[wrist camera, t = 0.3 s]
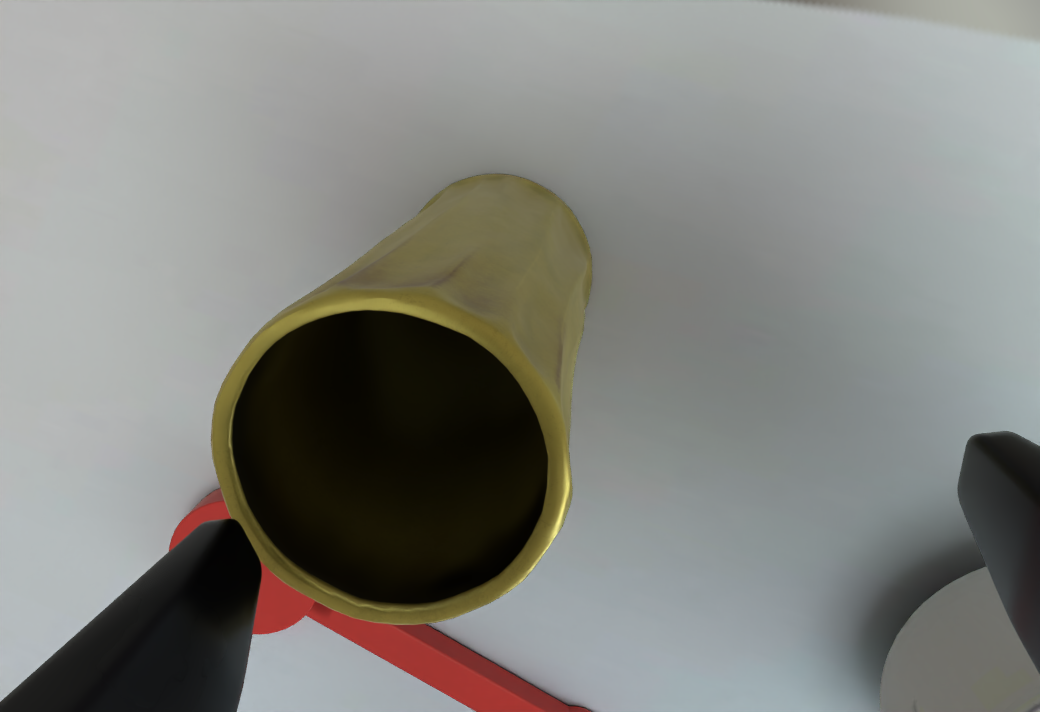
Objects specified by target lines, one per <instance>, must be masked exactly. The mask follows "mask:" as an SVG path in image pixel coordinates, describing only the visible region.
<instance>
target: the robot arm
mask: <svg viewBox="0 0 1040 712" xmlns="http://www.w3.org/2000/svg"><path fill="white" fill-rule="evenodd" d="M958 498H959V502H960V505H961V508H962V510H963V512H964V515H965V517H966V519H967V522H968V524H969V526H970V529H971V531H972V533H973V536H974V538H975V541H976V543H977V545H978V548H979V550H980V552H981V555H982V557H983V559H984V562H985V564H986V566H987V569H988V571H989V573H990V576H991V578H992V580H993V583H994V585H995V587H996V590H997V592H998V595H999V597H1000V599H1001V602H1002V604H1003V606H1004V608H1005V610H1006V613H1007V615H1008V617H1009V619H1010V621H1011V624H1012V625H1013V627H1014V629H1015V631H1016V633H1017V635H1018V637H1019V639H1020V640H1021V642H1022V644H1023V646H1024V648H1025V650H1026V651H1027V653H1028V655H1029V657H1030V658H1031V660H1032V662H1033V664H1034V665H1035V667H1036V669H1037V671H1038V673H1039V674H1040V446H1038V445H1037V444H1035V443H1033V442H1031V441H1029V440H1027V439H1025V438H1023V437H1021V436H1020V435H1018V434H1015V433H1013V432H1009V431H1000V432H991V433H982V434H976V435H973V436H972V437H970V439H969V440H968V442H967V445H966V449H965V453H964V458H963V463H962V467H961V472H960V477H959V481H958ZM261 579H262V567H261V562H260V559H259V557H258V555H257V553H256V551H255V550H254V548H253V546H252V544H251V542H250V540H249V539H248V537H247V535H246V533H245V531H244V529H243V527H242V526H241V524H240V523H239V522H238V521H237V520H235V519H231V518H229V519H220V520H211V521H206V522H203V523H201V524H200V525H199V526H198V527H196V528H195V529H194V530H193V531H192V532H191V533H190V534H189V535H187V536H186V537H185V538H184V539H183V540H182V541H181V542H180V543H178V544H177V545H176V546H175V547H174V548H173V549H172V550H171V551H169V552H168V553H167V554H166V555H165V556H164V557H163V558H162V559H160V560H159V561H158V562H157V563H156V564H155V565H154V566H153V567H151V568H150V569H149V570H148V571H147V572H146V573H145V574H144V575H142V576H141V577H140V578H139V579H138V580H137V581H136V582H135V583H133V584H132V585H131V586H130V587H129V588H128V589H127V590H126V591H124V592H123V593H122V594H121V595H120V596H119V597H118V598H117V599H115V600H114V601H113V602H112V603H111V604H110V605H109V606H108V607H106V608H105V609H104V610H103V611H102V612H101V613H100V614H99V615H98V616H96V617H95V618H94V619H93V620H92V621H91V622H90V623H89V624H87V625H86V626H85V627H84V628H83V629H82V630H81V631H80V632H78V633H77V634H76V635H75V636H74V637H73V638H72V639H71V640H69V641H68V642H67V643H66V644H65V645H64V646H63V647H62V648H60V649H59V650H58V651H57V652H56V653H55V654H54V655H53V656H51V657H50V658H49V659H48V660H47V661H46V662H45V663H44V664H42V665H41V666H40V667H39V668H38V669H37V670H36V671H35V672H33V673H32V674H31V675H30V676H29V677H28V678H27V679H26V680H24V681H23V682H22V683H21V684H20V685H19V686H18V687H17V688H15V689H14V690H13V691H12V692H11V693H10V694H9V695H8V696H6V697H5V698H4V699H3V700H2V701H1V702H0V712H237V708H238V704H239V700H240V696H241V693H242V688H243V683H244V678H245V673H246V668H247V662H248V656H249V650H250V644H251V639H252V633H253V627H254V621H255V615H256V609H257V603H258V597H259V591H260V585H261Z"/></svg>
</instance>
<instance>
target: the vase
mask: <svg viewBox="0 0 1040 712" xmlns="http://www.w3.org/2000/svg"><path fill="white" fill-rule="evenodd" d="M591 282H592V257H591V253H590V247H589V244H588V241H587V238H586V236H585V234H584V232H583V229H582V227H581V226H580V224H579V222H578V220H577V219H576V217H575V216H574V214H573V213H572V211H571V210H570V209H569V207H568V206H567V205H566V204H565V203H564V202H563V201H562V200H561V199H560V198H559V197H557V196H556V195H555V194H553V193H552V192H551V191H549V190H548V189H546V188H544V187H542V186H540V185H538V184H536V183H534V182H532V181H530V180H527V179H524V178H521V177H517V176H512V175H505V174H487V175H479V176H474V177H470V178H466V179H463V180H461V181H458V182H456V183H453V184H451V185H449V186H448V187H446V188H445V189H443V190H442V191H441V192H439V193H438V194H437V195H435V196H434V197H433V198H432V199H431V200H430V201H429V202H428V203H427V204H426V205H425V207H424V208H423V209H422V210H421V211H420V213H419V214H418V215H417V216H416V217H414V218H413V219H411V220H410V221H408V222H407V223H405V224H404V225H402V226H401V227H400V228H398V229H397V230H396V231H395V232H394V233H392V234H391V235H389V236H388V237H386V238H385V239H383V240H382V241H381V242H379V243H378V244H377V245H376V246H375V247H373V248H372V249H371V250H370V251H368V252H367V253H366V254H364V255H363V256H362V257H360V258H359V259H358V260H357V261H355V262H354V263H353V264H351V265H350V266H349V267H347V268H346V269H345V270H343V271H342V272H341V273H339V274H338V275H336V276H335V277H333V278H332V279H330V280H329V281H327V282H326V283H324V284H323V285H321V286H320V287H318V288H317V289H315V290H314V291H312V292H310V293H309V294H307V295H306V296H304V297H302V298H301V299H299V300H298V301H296V302H294V303H293V304H291V305H290V306H288V307H287V308H285V309H284V310H282V311H281V312H280V313H278V314H277V315H276V316H275V317H273V318H272V319H271V320H270V321H269V322H267V323H266V324H265V325H264V326H263V327H262V328H261V329H260V330H259V331H258V332H257V333H256V334H255V335H254V336H253V337H252V339H251V340H250V341H249V343H248V344H247V345H246V347H245V348H244V350H243V351H242V352H241V354H240V355H239V357H238V358H237V360H236V361H235V363H234V364H233V366H232V367H231V369H230V371H229V372H228V374H227V376H226V378H225V380H224V381H223V383H222V386H221V388H220V391H219V393H218V396H217V398H216V401H215V405H214V412H213V418H212V430H211V447H212V459H213V462H214V466H215V470H216V474H217V477H218V481H219V484H220V488H221V492H222V495H223V498H224V501H225V504H226V506H227V509H228V512H229V514H230V516H231V518H232V519H235V520H237V521H238V522H239V523H240V524H241V526H242V527H243V529H244V531H245V533H246V535H247V537H248V539H249V540H250V542H251V544H252V546H253V548H254V550H255V551H256V553H257V555H258V557H259V559H260V561H261V562H262V563H263V564H264V565H265V566H266V567H267V568H268V569H269V570H270V571H271V572H272V573H273V574H274V575H275V576H276V577H278V578H279V579H280V580H281V581H282V582H284V583H285V584H287V585H288V586H290V587H292V588H293V589H295V590H296V591H298V592H300V593H302V594H304V595H306V596H307V597H309V598H311V599H313V600H315V601H317V602H319V603H321V604H322V605H324V606H326V607H328V608H330V609H332V610H334V611H337V612H339V613H342V614H345V615H347V616H350V617H352V618H355V619H360V620H365V621H369V622H374V623H384V624H393V625H418V624H427V623H436V622H440V621H444V620H448V619H452V618H455V617H458V616H460V615H463V614H465V613H468V612H470V611H472V610H475V609H477V608H480V607H482V606H484V605H487V604H489V603H491V602H493V601H494V600H496V599H498V598H499V597H501V596H503V595H504V594H506V593H508V592H509V591H511V590H512V589H513V588H514V587H516V586H517V585H518V584H520V583H521V582H522V581H523V580H524V579H525V578H526V577H527V576H528V574H529V573H530V572H531V571H532V570H533V569H534V567H535V566H536V565H537V563H538V562H539V560H540V559H541V558H542V556H543V555H544V553H545V552H546V550H547V549H548V548H549V546H550V544H551V543H552V541H553V540H554V538H555V537H556V535H557V534H558V532H559V531H560V529H561V528H562V526H563V523H564V521H565V518H566V515H567V512H568V510H569V507H570V504H571V499H572V476H571V468H570V455H569V438H570V426H571V400H572V387H573V377H574V369H575V363H576V357H577V351H578V348H579V344H580V341H581V338H582V334H583V330H584V320H585V308H586V306H587V304H588V300H589V295H590V289H591Z"/></svg>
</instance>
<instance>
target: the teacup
mask: <svg viewBox="0 0 1040 712" xmlns="http://www.w3.org/2000/svg"><path fill="white" fill-rule="evenodd" d="M880 712H1040V674H1039V673H1038V671H1037V669H1036V667H1035V665H1034V664H1033V662H1032V660H1031V658H1030V657H1029V655H1028V653H1027V651H1026V650H1025V648H1024V646H1023V644H1022V642H1021V640H1020V639H1019V637H1018V635H1017V633H1016V631H1015V629H1014V627H1013V625H1012V624H1011V621H1010V619H1009V617H1008V615H1007V613H1006V610H1005V608H1004V606H1003V604H1002V602H1001V599H1000V597H999V595H998V592H997V590H996V587H995V585H994V583H993V580H992V578H991V576H990V573H989V571H988V569H987V566H986V567H984V568H981V569H978V570H976V571H973V572H970V573H968V574H966V575H964V576H962V577H961V578H959V579H957V580H955V581H953V582H951V583H949V584H948V585H946V586H945V587H943V588H942V589H940V590H939V591H938V592H936V593H935V594H934V595H933V596H931V597H930V598H929V599H928V600H926V601H925V602H924V603H923V604H922V605H921V606H920V607H919V608H918V609H917V610H916V611H915V612H914V613H913V614H912V615H911V617H910V618H909V619H908V621H907V622H906V623H905V625H904V626H903V627H902V629H901V630H900V632H899V633H898V635H897V636H896V638H895V640H894V642H893V645H892V647H891V649H890V651H889V653H888V656H887V659H886V662H885V665H884V668H883V673H882V678H881V686H880Z"/></svg>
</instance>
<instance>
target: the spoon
mask: <svg viewBox="0 0 1040 712" xmlns="http://www.w3.org/2000/svg"><path fill="white" fill-rule="evenodd" d="M229 518H231V516H230V514H229V512H228V509H227V506H226V504H225V501H224V498H223V495H222V492H221V488H219V489H217V490H215V491H213V492H212V493H210V494H209V495H207V496H206V497H205V498H204V499H202V500H201V501H200V502H199V503H198V504H197V505H196V506H195V507H194V508H193V509H192V510H191V511H190V512H189V513H188V515H187V516H186V517H185V518H184V519H183V520H182V521H181V522H180V523H179V525H178V526H177V528H176V529H175V531H174V534H173V536H172V539H171V543H170V547H169V551H171V550H172V549H173V548H174V547H175V546H176V545H177V544H178V543H180V542H181V541H182V540H183V539H184V538H185V537H186V536H187V535H189V534H190V533H191V532H192V531H193V530H194V529H195V528H196V527H198V526H199V525H200V524H201V523H203V522H206V521H211V520H220V519H229ZM231 519H232V518H231ZM260 562H261V561H260ZM261 567H262V579H261V585H260V591H259V597H258V603H257V609H256V615H255V621H254V627H253V633H252V634H269V633H273V632H278V631H281V630H283V629H286V628H288V627H290V626H292V625H294V624H295V623H297V622H298V621H300V620H301V619H302V618H303V617H304V616H305V615H306V616H308V617H310V618H311V619H313V620H315V621H317V622H318V623H320V624H322V625H324V626H326V627H327V628H329V629H331V630H333V631H334V632H336V633H338V634H340V635H341V636H343V637H345V638H347V639H349V640H350V641H352V642H354V643H356V644H357V645H359V646H361V647H363V648H365V649H366V650H368V651H370V652H372V653H373V654H375V655H377V656H379V657H381V658H382V659H384V660H386V661H388V662H389V663H391V664H393V665H395V666H397V667H398V668H400V669H402V670H404V671H405V672H407V673H409V674H411V675H413V676H414V677H416V678H418V679H420V680H421V681H423V682H425V683H427V684H428V685H430V686H432V687H434V688H436V689H437V690H439V691H441V692H443V693H444V694H446V695H448V696H450V697H452V698H453V699H455V700H457V701H459V702H460V703H462V704H464V705H466V706H468V707H469V708H471V709H473V710H475V711H476V712H591V711H589V710H587V709H585V708H582V707H577V706H567V705H565V704H564V703H562V702H560V701H559V700H557V699H555V698H553V697H552V696H550V695H548V694H546V693H545V692H543V691H541V690H539V689H538V688H536V687H534V686H532V685H531V684H529V683H527V682H525V681H524V680H522V679H520V678H518V677H517V676H515V675H513V674H511V673H510V672H508V671H506V670H504V669H503V668H501V667H499V666H497V665H496V664H494V663H492V662H490V661H489V660H487V659H485V658H483V657H482V656H480V655H478V654H476V653H475V652H473V651H471V650H469V649H468V648H466V647H464V646H462V645H461V644H459V643H457V642H455V641H454V640H452V639H450V638H448V637H447V636H445V635H443V634H441V633H440V632H438V631H436V630H434V629H433V628H431V627H429V626H427V625H426V624H418V625H393V624H384V623H374V622H369V621H365V620H360V619H355V618H352V617H350V616H347V615H345V614H342V613H339V612H337V611H334V610H332V609H330V608H328V607H326V606H324V605H322V604H321V603H319V602H317V601H315V600H313V599H311V598H309V597H307V596H306V595H304V594H302V593H300V592H298V591H296V590H295V589H293V588H292V587H290V586H288V585H287V584H285V583H284V582H282V581H281V580H280V579H279V578H278V577H276V576H275V575H274V574H273V573H272V572H271V571H270V570H269V569H268V568H267V567H266V566H265V565H264V564H263V563H262V562H261Z"/></svg>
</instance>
